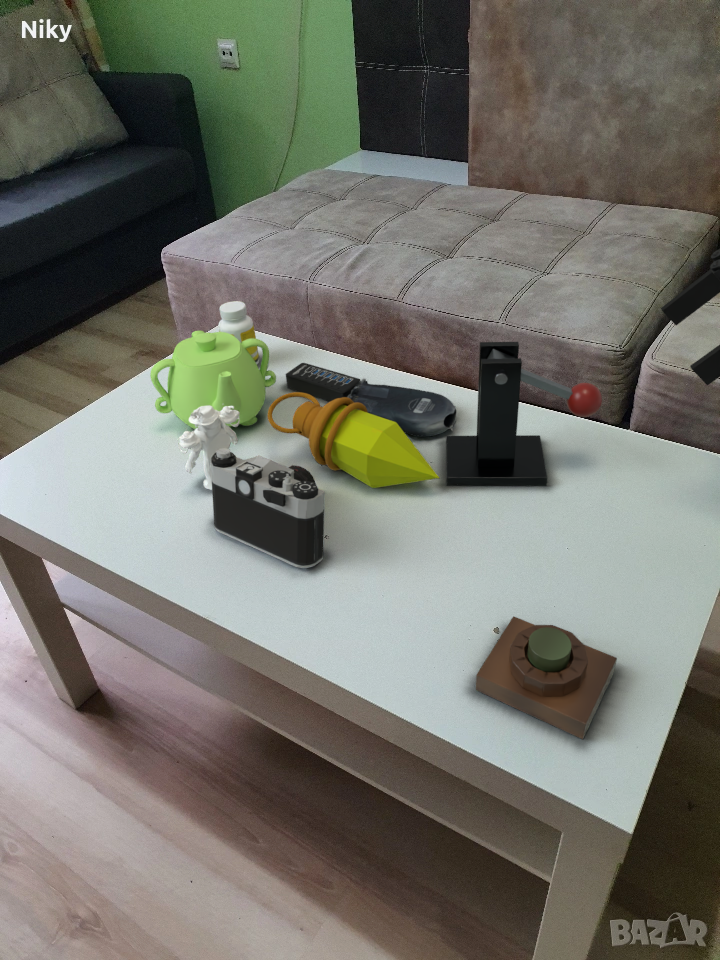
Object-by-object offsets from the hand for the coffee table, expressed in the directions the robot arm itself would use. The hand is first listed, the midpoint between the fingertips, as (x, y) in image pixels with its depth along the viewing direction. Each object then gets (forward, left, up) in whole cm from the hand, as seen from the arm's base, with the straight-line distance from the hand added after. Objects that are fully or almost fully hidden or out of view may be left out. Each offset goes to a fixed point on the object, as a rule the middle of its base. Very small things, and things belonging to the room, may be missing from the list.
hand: (682, 344), depth 83 cm
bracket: (+14, +14, -16) cm, 26 cm away
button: (-12, +36, -13) cm, 40 cm away
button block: (-12, +36, -16) cm, 41 cm away
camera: (+23, +40, -16) cm, 49 cm away
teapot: (+48, +33, -16) cm, 60 cm away
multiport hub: (+44, +18, -16) cm, 50 cm away
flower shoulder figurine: (+36, +41, -16) cm, 57 cm away
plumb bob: (+26, +27, -16) cm, 41 cm away
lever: (+11, +11, -7) cm, 17 cm away
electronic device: (+30, +15, -16) cm, 37 cm away
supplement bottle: (+60, +22, -16) cm, 66 cm away
